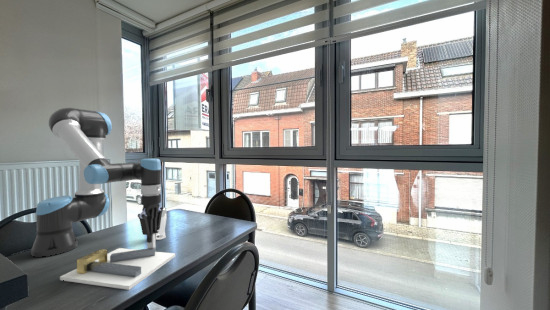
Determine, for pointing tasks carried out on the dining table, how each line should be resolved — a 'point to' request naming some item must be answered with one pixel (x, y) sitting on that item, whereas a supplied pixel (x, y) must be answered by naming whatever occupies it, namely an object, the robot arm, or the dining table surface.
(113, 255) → the moving jaw
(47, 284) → the dining table surface
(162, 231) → the beer glass
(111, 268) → the fixed jaw
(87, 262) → the collar
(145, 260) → the board
